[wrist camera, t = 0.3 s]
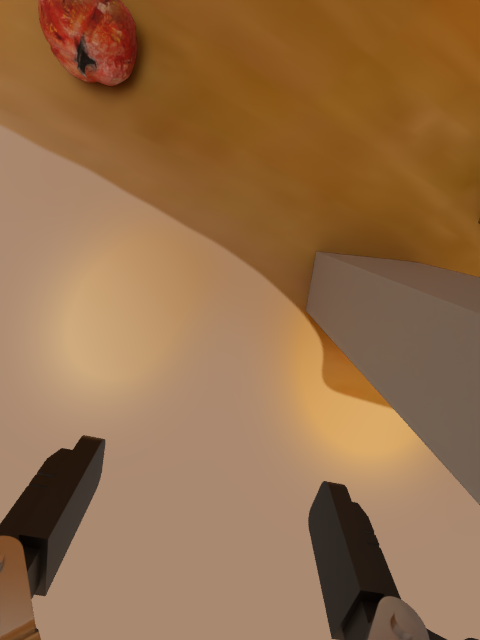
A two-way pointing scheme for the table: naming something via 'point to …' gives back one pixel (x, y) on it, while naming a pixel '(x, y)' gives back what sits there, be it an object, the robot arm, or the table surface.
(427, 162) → the table surface
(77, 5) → the pomegranate
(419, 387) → the grey stand
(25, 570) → the robot arm
